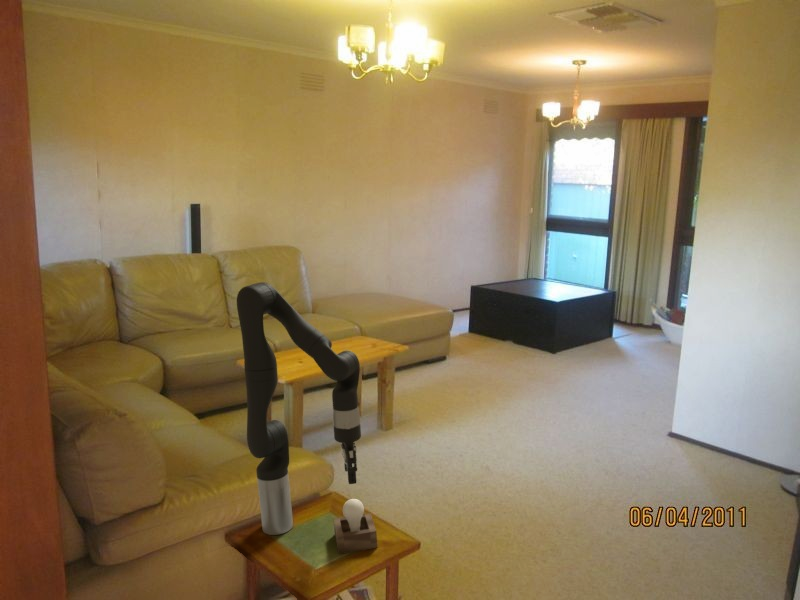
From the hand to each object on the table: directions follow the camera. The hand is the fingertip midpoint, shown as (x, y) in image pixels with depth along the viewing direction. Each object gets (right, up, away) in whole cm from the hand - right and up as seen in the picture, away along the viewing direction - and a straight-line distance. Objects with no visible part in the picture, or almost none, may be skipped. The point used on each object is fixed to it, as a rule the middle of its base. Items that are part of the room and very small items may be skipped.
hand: (350, 476), depth 184 cm
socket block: (+1, -19, +3) cm, 20 cm away
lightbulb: (+1, -18, +3) cm, 18 cm away
